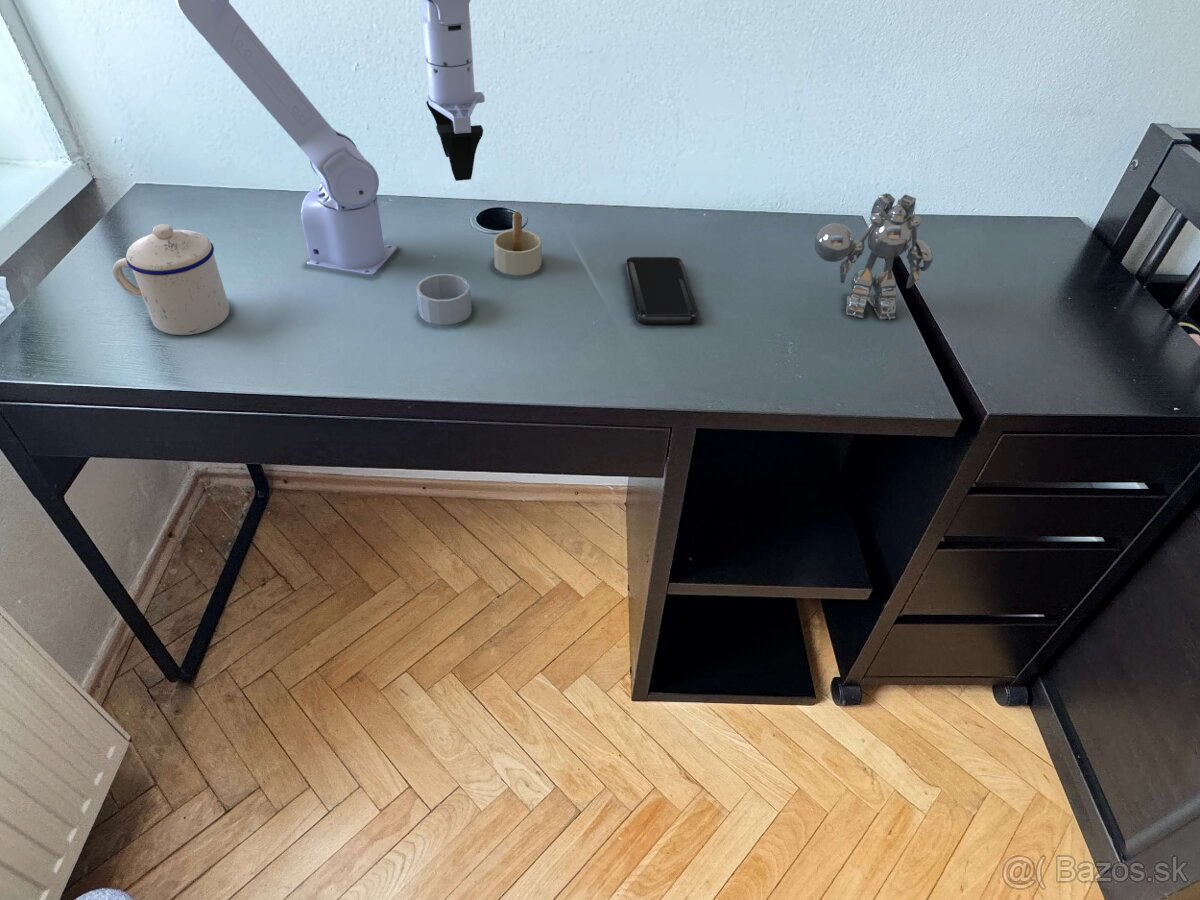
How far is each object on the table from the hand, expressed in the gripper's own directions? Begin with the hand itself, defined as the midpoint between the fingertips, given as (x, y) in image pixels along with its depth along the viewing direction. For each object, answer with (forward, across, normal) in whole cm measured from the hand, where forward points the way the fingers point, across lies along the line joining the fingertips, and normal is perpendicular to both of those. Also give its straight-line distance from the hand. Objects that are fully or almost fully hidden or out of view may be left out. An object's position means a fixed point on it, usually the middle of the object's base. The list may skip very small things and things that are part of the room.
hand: (458, 167), depth 108 cm
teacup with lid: (+10, -13, +36) cm, 40 cm away
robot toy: (+11, -29, -47) cm, 56 cm away
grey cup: (+10, -19, +6) cm, 22 cm away
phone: (+11, -20, -23) cm, 32 cm away
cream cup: (+10, -9, -6) cm, 15 cm away
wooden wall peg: (+10, -9, -6) cm, 15 cm away
